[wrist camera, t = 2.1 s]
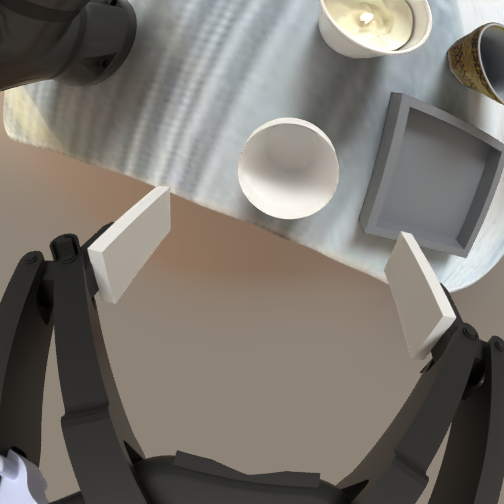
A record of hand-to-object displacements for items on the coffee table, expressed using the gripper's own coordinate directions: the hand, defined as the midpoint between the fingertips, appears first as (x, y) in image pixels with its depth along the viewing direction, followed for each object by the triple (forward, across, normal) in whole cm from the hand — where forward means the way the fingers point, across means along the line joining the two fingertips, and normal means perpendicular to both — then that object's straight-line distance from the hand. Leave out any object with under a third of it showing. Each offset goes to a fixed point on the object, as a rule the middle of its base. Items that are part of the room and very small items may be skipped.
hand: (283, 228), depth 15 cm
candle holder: (+22, +5, +17) cm, 28 cm away
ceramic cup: (+22, +22, +20) cm, 37 cm away
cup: (+22, 0, 0) cm, 22 cm away
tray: (+22, +20, +1) cm, 29 cm away
